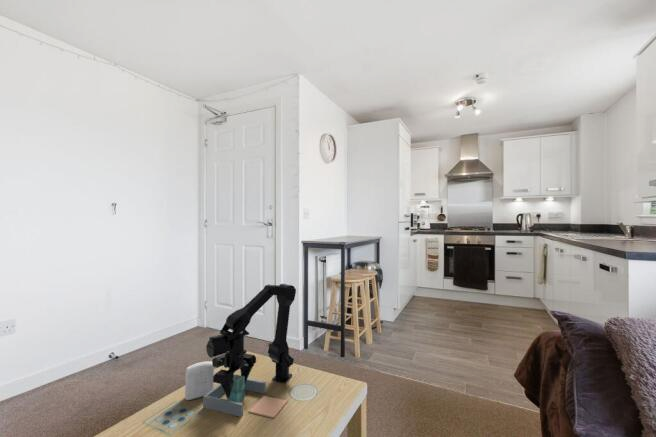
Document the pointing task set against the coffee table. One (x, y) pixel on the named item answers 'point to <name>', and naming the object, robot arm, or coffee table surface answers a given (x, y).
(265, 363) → the coffee table surface
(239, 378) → the teal block
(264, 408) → the terracotta mat
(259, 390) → the open-front gray frame
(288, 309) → the robot arm
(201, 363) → the photo printer
